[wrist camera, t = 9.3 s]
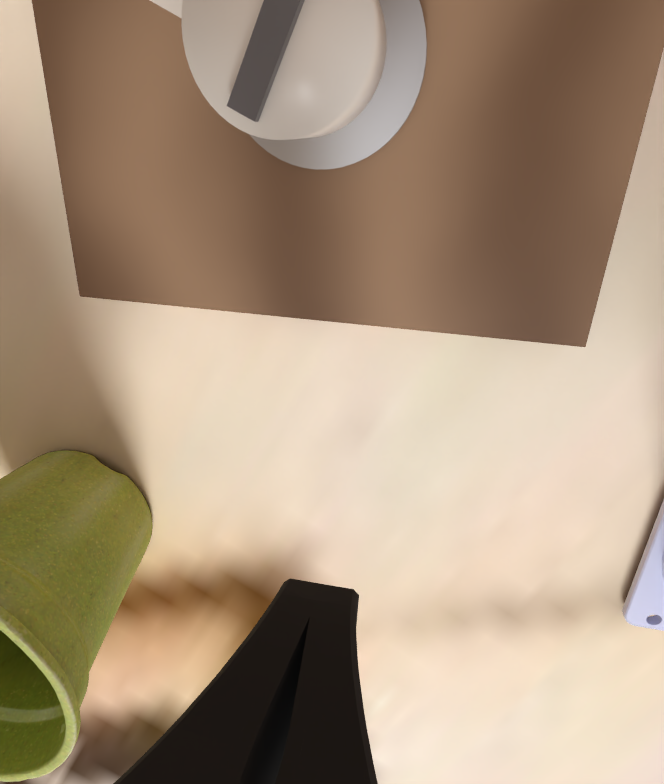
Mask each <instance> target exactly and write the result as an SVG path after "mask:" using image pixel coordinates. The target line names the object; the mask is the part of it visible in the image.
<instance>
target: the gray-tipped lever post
mask: <svg viewBox="0 0 664 784" xmlns="http://www.w3.org/2000/svg"><path fill="white" fill-rule="evenodd" d="M150 1H152V2H153V3H155V4H157V5H159V6H160V7H162V8H164V9H166V10H167V11H169V12H171V13H173V14H174V15H176V16H178V17H180V18H182V24H181V26H182V37H183V44H184V49H185V54H186V58H187V61H188V64H189V67H190V70H191V72H192V75H193V77H194V79H195V82H196V84H197V85H198V87H199V89H200V91H201V92H202V94H203V96H204V97H205V98H206V100H207V101H208V102H209V104H210V105H211V106H212V107H213V108H214V109H215V111H216V112H217V113H218V114H219V115H220V116H221V117H223V118H224V119H225V120H226V121H227V122H229V123H230V124H232V125H233V126H235V127H236V128H238V129H239V130H241V131H244V132H246V133H248V134H250V135H253V136H256V137H259V138H264V139H270V140H290V139H301V138H312V137H319V136H324V135H327V134H331V133H333V132H335V131H337V130H340V129H341V128H343V127H344V126H346V125H348V124H349V123H350V122H351V121H353V120H354V119H355V118H356V117H357V116H358V115H359V114H360V113H361V112H362V111H363V110H364V109H365V107H366V106H367V104H368V103H369V102H370V100H371V98H372V97H373V95H374V93H375V91H376V89H377V87H378V84H379V82H380V79H381V76H382V73H383V69H384V65H385V58H386V46H387V38H386V26H385V21H384V15H383V12H382V9H381V6H380V3H379V0H150Z"/></svg>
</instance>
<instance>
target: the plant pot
mask: <svg viewBox="0 0 664 784" xmlns="http://www.w3.org/2000/svg"><path fill="white" fill-rule="evenodd" d="M151 535H152V518H151V513H150V509H149V507H148V505H147V502H146V500H145V498H144V497H143V495H142V493H141V492H140V490H139V489H138V488H137V486H136V485H135V484H134V483H133V482H132V481H131V480H130V479H129V478H128V477H127V476H126V475H124V474H121V473H118V472H115V471H113V470H111V469H110V468H108V467H106V466H105V465H103V464H102V463H100V462H99V461H98V460H97V459H96V458H95V457H94V456H93V455H90V454H87V453H83V452H78V451H68V450H64V451H54V452H50V453H46V454H44V455H41V456H39V457H37V458H35V459H34V460H32V461H30V462H29V463H27V464H25V465H23V466H22V467H20V468H18V469H17V470H15V471H13V472H11V473H10V474H8V475H6V476H5V477H3V478H1V479H0V781H4V782H10V781H22V780H26V779H32V778H38V777H41V776H43V775H46V774H48V773H50V772H52V771H53V770H54V769H56V768H57V767H58V766H60V765H61V764H62V763H63V762H64V761H65V760H66V759H67V758H68V756H69V755H70V753H71V752H72V750H73V748H74V746H75V743H76V741H77V738H78V734H79V730H80V722H81V720H80V709H79V708H80V706H81V704H82V701H83V699H84V696H85V694H86V691H87V687H88V680H89V671H90V669H91V667H92V664H93V662H94V660H95V658H96V656H97V653H98V651H99V649H100V647H101V645H102V643H103V640H104V638H105V636H106V634H107V632H108V629H109V627H110V625H111V623H112V621H113V619H114V616H115V614H116V612H117V610H118V608H119V606H120V604H121V602H122V599H123V597H124V595H125V593H126V591H127V589H128V587H129V585H130V582H131V580H132V578H133V576H134V574H135V572H136V570H137V568H138V566H139V564H140V562H141V560H142V558H143V555H144V553H145V551H146V549H147V547H148V544H149V542H150V538H151Z"/></svg>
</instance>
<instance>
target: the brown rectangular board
mask: <svg viewBox="0 0 664 784" xmlns="http://www.w3.org/2000/svg"><path fill="white" fill-rule="evenodd" d="M379 3H380V6H381V9H382V12H383V15H384V21H385V26H386V38H387V46H386V58H385V65H384V69H383V73H382V76H381V79H380V82H379V84H378V87H377V89H376V91H375V93H374V95H373V97H372V98H371V100H370V102H369V103H368V104H367V106H366V107H365V109H364V110H363V111H362V112H361V113H360V114H359V115H358V116H357V117H356V118H355V119H354V120H353V121H351V122H350V123H349V124H348V125H346V126H344V127H343V128H341V129H340V130H337V131H335V132H333V133H331V134H327V135H324V136H319V137H312V138H301V139H290V140H270V139H264V138H259V137H256V136H253V135H250V134H248V133H246V132H244V131H241V130H239V129H238V128H236V127H235V126H233V125H232V124H230V123H229V122H227V121H226V120H225V119H224V118H223V117H221V116H220V115H219V114H218V113H217V112H216V111H215V109H214V108H213V107H212V106H211V105H210V104H209V102H208V101H207V100H206V98H205V97H204V96H203V94H202V92H201V91H200V89H199V87H198V85H197V84H196V82H195V79H194V77H193V75H192V72H191V70H190V67H189V64H188V61H187V58H186V54H185V49H184V44H183V37H182V26H181V24H182V18H180V17H178V16H176V15H174V14H173V13H171V12H169V11H167V10H166V9H164V8H162V7H160V6H159V5H157V4H155V3H153V2H152V1H150V0H32V4H33V10H34V16H35V22H36V29H37V35H38V41H39V47H40V53H41V59H42V66H43V72H44V78H45V84H46V90H47V96H48V103H49V109H50V115H51V121H52V127H53V133H54V140H55V146H56V152H57V158H58V164H59V170H60V177H61V183H62V189H63V195H64V201H65V207H66V214H67V220H68V226H69V232H70V238H71V244H72V250H73V257H74V263H75V269H76V275H77V281H78V287H79V294H80V296H82V297H92V298H102V299H112V300H122V301H132V302H142V303H152V304H162V305H172V306H182V307H191V308H201V309H211V310H221V311H231V312H241V313H251V314H261V315H271V316H281V317H291V318H301V319H311V320H321V321H331V322H341V323H351V324H361V325H371V326H381V327H391V328H401V329H411V330H420V331H430V332H440V333H450V334H460V335H470V336H480V337H490V338H500V339H510V340H520V341H530V342H540V343H550V344H560V345H570V346H580V347H585V346H586V342H587V339H588V335H589V331H590V327H591V323H592V319H593V316H594V312H595V308H596V304H597V300H598V296H599V293H600V289H601V285H602V281H603V277H604V273H605V270H606V266H607V262H608V258H609V254H610V251H611V247H612V243H613V239H614V235H615V231H616V228H617V224H618V220H619V216H620V212H621V208H622V205H623V201H624V197H625V193H626V189H627V185H628V182H629V178H630V174H631V170H632V166H633V163H634V159H635V155H636V151H637V147H638V143H639V140H640V136H641V132H642V128H643V124H644V120H645V117H646V113H647V109H648V105H649V101H650V97H651V94H652V90H653V86H654V82H655V78H656V75H657V71H658V67H659V63H660V59H661V55H662V52H663V48H664V0H379Z"/></svg>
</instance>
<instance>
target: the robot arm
mask: <svg viewBox="0 0 664 784" xmlns="http://www.w3.org/2000/svg"><path fill="white" fill-rule="evenodd" d="M358 600H359V595H358V594H357V593H356V592H355V591H354V589H348V588H342V587H336V586H330V585H324V584H318V583H313V582H307V581H301V580H295V579H289V580H287V581H285V582H284V583H283V585H282V586H281V588H280V590H279V592H278V593H277V595H276V596H275V598H274V599H273V601H272V602H271V604H270V605H269V607H268V608H267V610H266V611H265V613H264V614H263V616H262V617H261V618H260V620H259V621H258V623H257V624H256V625H255V627H254V628H253V629H252V631H251V632H250V634H249V635H248V636H247V638H246V639H245V640H244V641H243V643H242V644H241V645H240V647H239V648H238V649H237V650H236V652H235V653H234V654H233V655H232V657H231V658H230V659H229V661H228V662H227V663H226V664H225V666H224V667H223V668H222V669H221V671H220V672H219V673H218V674H217V675H216V677H215V678H214V679H213V680H212V681H211V682H210V684H209V685H208V686H207V687H206V688H205V689H204V690H203V692H202V693H201V694H200V695H199V696H198V697H197V698H196V700H195V701H194V702H193V703H192V704H191V705H190V706H189V708H188V709H187V710H186V711H185V712H184V713H183V714H182V715H181V717H180V718H179V719H178V720H177V721H176V722H175V723H174V724H173V725H172V726H171V727H170V728H169V729H168V730H167V732H166V733H165V734H164V735H163V736H162V737H161V738H160V739H159V740H158V741H157V742H156V743H155V744H154V745H153V746H152V747H151V748H150V749H149V750H148V751H147V752H146V753H145V754H144V755H143V756H142V757H141V758H140V759H139V760H138V761H137V762H136V763H135V764H134V765H133V766H132V767H131V768H130V769H129V770H128V771H127V772H126V773H124V774H123V775H122V776H121V777H120V778H119V779H118V780H117V781H116V782H115V783H114V784H377V779H376V774H375V769H374V765H373V760H372V754H371V749H370V744H369V739H368V733H367V728H366V721H365V715H364V709H363V702H362V694H361V686H360V679H359V670H358V659H357V642H356V623H357V612H358ZM622 612H623V615H624V617H625V619H626V621H627V622H628V623H629V624H631V625H634V626H639V627H645V628H651V629H657V630H663V631H664V500H663V502H662V505H661V508H660V510H659V513H658V516H657V518H656V521H655V524H654V526H653V529H652V532H651V534H650V537H649V540H648V542H647V545H646V547H645V550H644V553H643V555H642V558H641V561H640V563H639V566H638V569H637V571H636V574H635V577H634V579H633V582H632V585H631V587H630V590H629V593H628V595H627V598H626V601H625V603H624V606H623V611H622ZM650 615H655V616H650ZM648 616H650V617H648Z"/></svg>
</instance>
